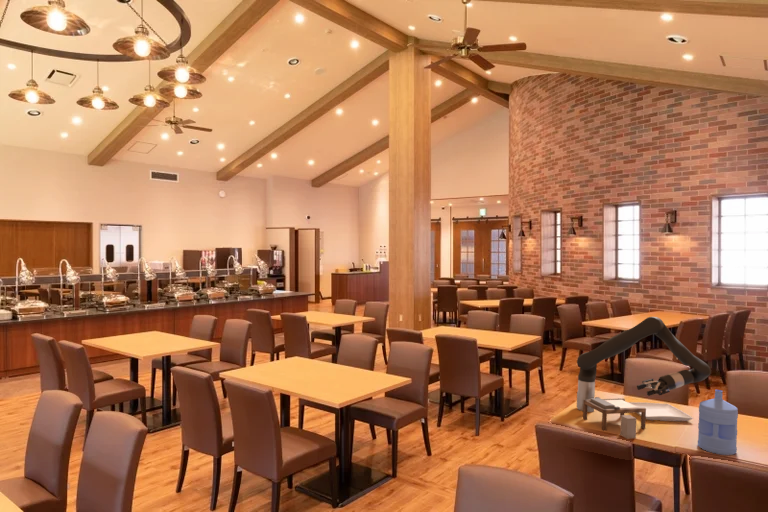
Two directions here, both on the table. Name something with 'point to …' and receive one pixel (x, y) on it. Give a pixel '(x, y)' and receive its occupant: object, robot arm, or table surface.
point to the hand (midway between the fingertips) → (642, 390)
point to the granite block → (628, 426)
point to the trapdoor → (612, 403)
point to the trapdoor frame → (613, 411)
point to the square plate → (662, 412)
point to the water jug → (717, 426)
